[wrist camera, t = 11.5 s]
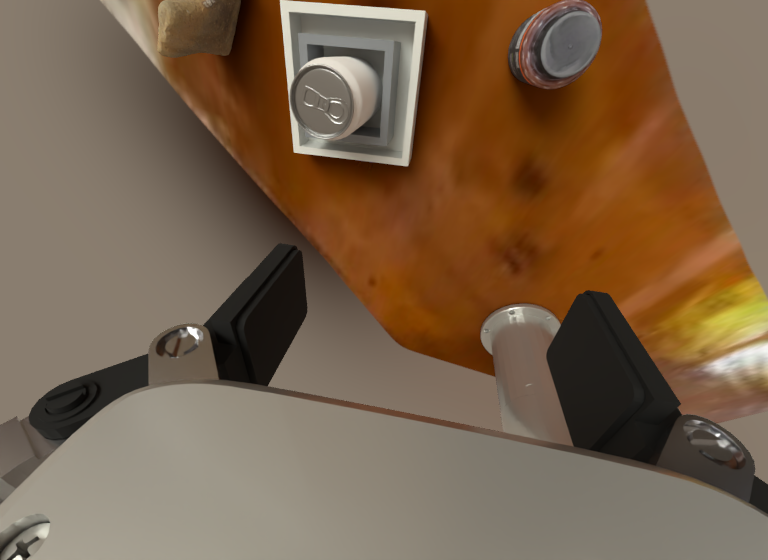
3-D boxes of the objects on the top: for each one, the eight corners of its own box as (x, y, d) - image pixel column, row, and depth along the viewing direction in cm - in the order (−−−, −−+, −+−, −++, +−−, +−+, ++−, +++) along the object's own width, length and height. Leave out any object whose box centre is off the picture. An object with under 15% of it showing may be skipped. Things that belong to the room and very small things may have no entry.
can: (371, 131, 39) (345, 157, 29) (322, 107, 38) (278, 125, 28) (392, 72, 35) (369, 79, 25) (337, 45, 34) (293, 41, 25)
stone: (231, 66, 38) (173, 69, 30) (194, 38, 37) (123, 33, 29) (256, -19, 33) (194, -42, 25) (214, -54, 32) (134, -90, 24)
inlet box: (428, 15, 32) (423, 8, 28) (411, 157, 41) (406, 171, 36) (296, 5, 34) (270, -3, 29) (306, 144, 42) (287, 156, 37)
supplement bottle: (582, 46, 32) (635, 43, 23) (528, 96, 35) (556, 111, 26) (547, -7, 30) (589, -33, 21) (494, 51, 33) (510, 50, 24)
